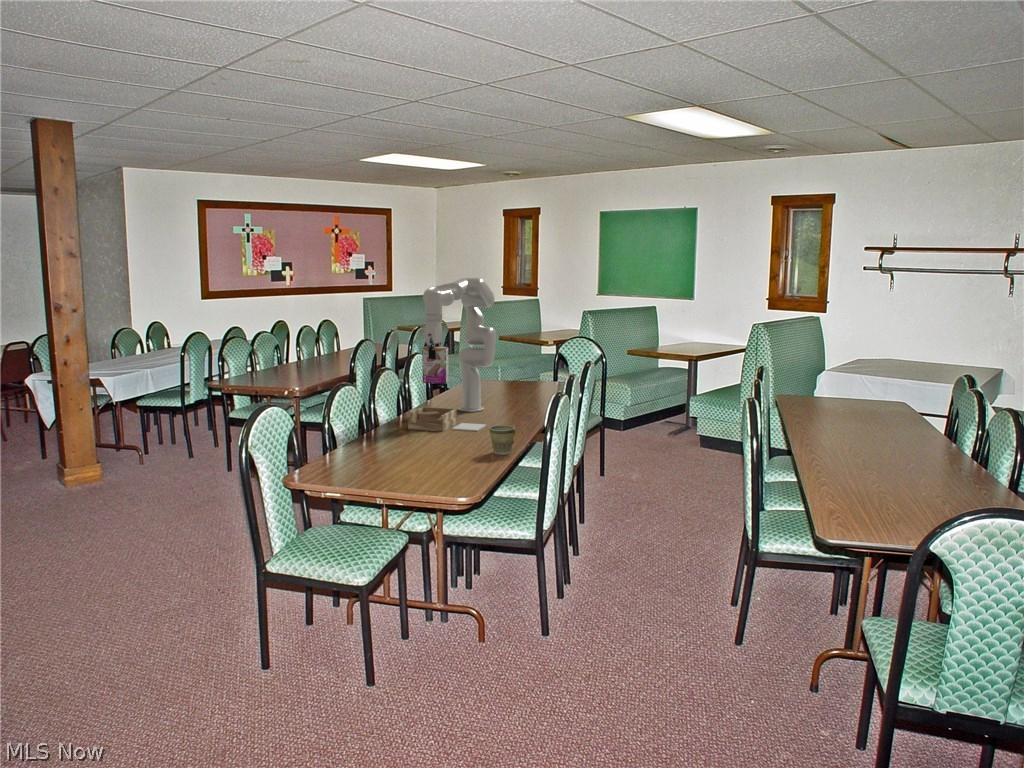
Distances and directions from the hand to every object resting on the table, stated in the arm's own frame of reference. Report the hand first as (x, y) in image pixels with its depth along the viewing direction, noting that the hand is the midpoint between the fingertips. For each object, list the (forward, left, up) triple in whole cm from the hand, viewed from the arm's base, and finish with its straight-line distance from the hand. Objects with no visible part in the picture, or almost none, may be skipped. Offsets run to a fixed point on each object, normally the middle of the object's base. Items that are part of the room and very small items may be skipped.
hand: (434, 357), depth 340 cm
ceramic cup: (+41, +47, -31) cm, 70 cm away
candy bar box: (0, 0, -12) cm, 12 cm away
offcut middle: (+8, 0, -29) cm, 30 cm away
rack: (+4, 0, -31) cm, 31 cm away
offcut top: (+8, 0, -27) cm, 28 cm away
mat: (+2, +17, -31) cm, 35 cm away
